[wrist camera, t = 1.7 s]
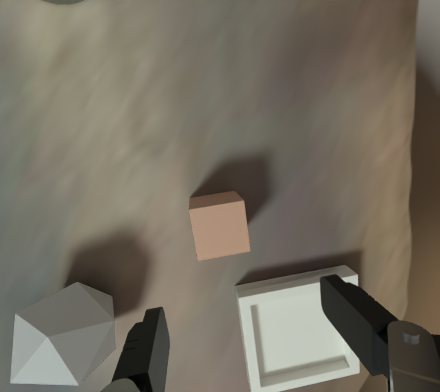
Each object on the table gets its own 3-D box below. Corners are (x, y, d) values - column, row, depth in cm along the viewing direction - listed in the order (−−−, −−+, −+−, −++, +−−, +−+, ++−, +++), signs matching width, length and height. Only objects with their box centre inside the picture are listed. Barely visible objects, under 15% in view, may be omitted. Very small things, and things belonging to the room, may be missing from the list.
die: (42, 330, 28) (51, 429, 22) (-12, 294, 22) (-20, 415, 16) (114, 290, 32) (141, 366, 25) (85, 249, 26) (110, 335, 19)
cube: (189, 197, 27) (188, 209, 22) (234, 190, 27) (244, 200, 22) (197, 240, 28) (198, 260, 23) (240, 232, 28) (250, 251, 23)
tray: (234, 285, 29) (238, 298, 27) (345, 264, 30) (357, 274, 28) (247, 379, 32) (252, 397, 30) (347, 356, 33) (359, 373, 31)
